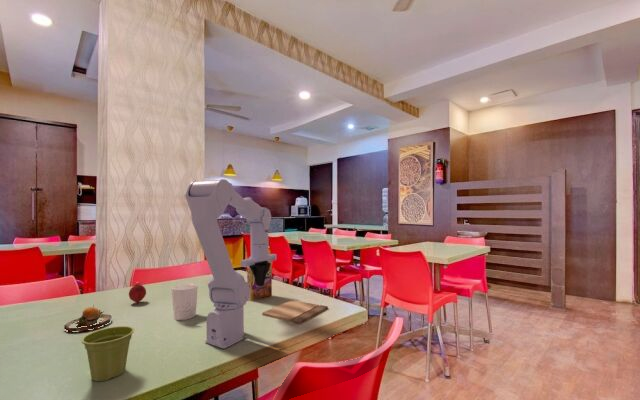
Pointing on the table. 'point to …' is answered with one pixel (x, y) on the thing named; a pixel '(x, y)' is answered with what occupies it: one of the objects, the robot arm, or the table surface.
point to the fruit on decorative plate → (89, 320)
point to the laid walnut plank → (309, 314)
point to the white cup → (184, 301)
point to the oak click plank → (289, 310)
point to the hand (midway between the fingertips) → (260, 285)
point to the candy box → (260, 291)
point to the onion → (137, 292)
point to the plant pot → (107, 351)
